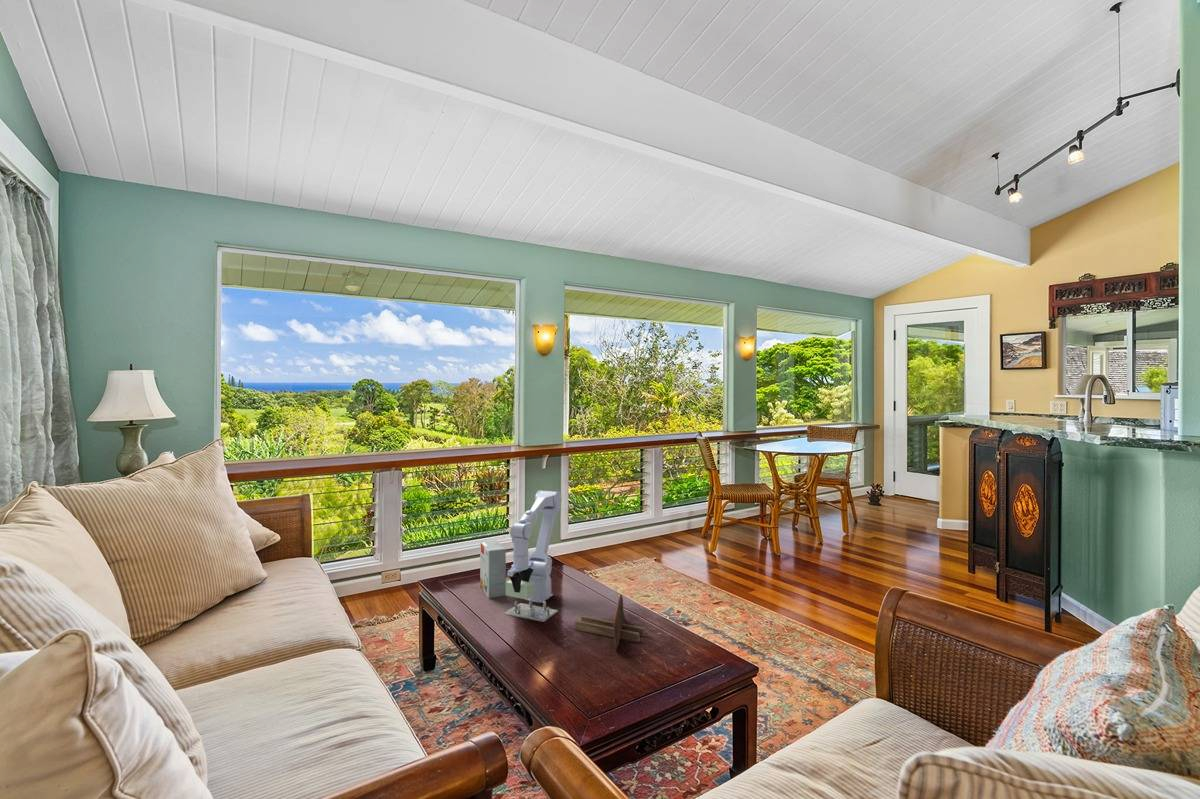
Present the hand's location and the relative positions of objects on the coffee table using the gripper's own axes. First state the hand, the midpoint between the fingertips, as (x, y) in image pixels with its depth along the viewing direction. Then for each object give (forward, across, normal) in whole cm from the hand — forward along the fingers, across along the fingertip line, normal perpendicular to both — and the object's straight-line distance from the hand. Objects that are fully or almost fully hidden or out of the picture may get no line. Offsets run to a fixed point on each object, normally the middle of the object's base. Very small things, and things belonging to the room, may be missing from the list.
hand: (520, 589), depth 211 cm
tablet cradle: (+8, +2, +39) cm, 40 cm away
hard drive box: (+9, -13, -24) cm, 28 cm away
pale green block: (+2, 0, -1) cm, 2 cm away
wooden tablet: (+8, +2, +43) cm, 44 cm away
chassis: (+8, 0, +5) cm, 10 cm away
